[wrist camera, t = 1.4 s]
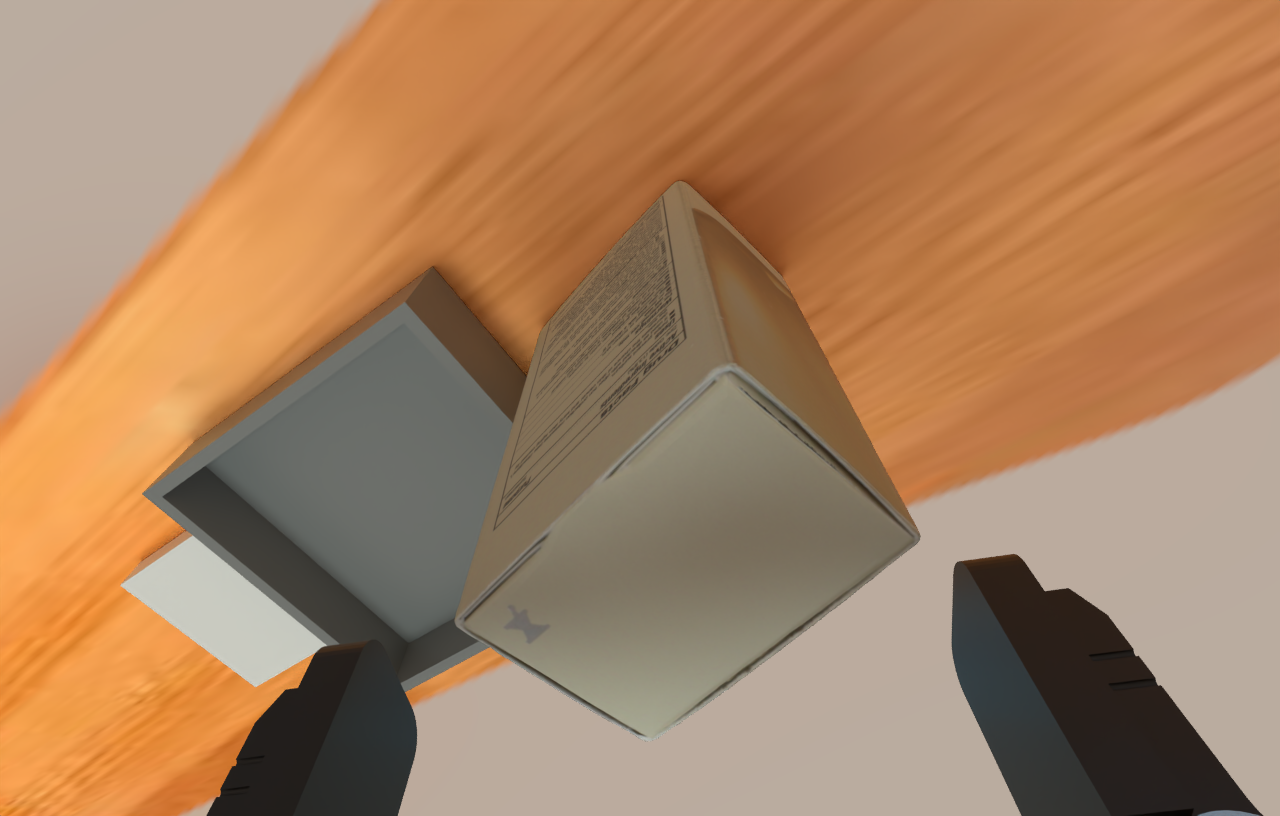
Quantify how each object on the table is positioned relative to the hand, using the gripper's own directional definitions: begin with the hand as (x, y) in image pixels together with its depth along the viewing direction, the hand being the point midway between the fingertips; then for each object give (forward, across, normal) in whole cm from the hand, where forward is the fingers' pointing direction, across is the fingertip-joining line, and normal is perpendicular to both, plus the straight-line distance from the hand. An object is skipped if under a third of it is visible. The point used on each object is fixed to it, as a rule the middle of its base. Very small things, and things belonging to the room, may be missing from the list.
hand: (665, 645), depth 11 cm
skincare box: (+13, 0, 0) cm, 13 cm away
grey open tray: (+13, +11, +6) cm, 18 cm away
